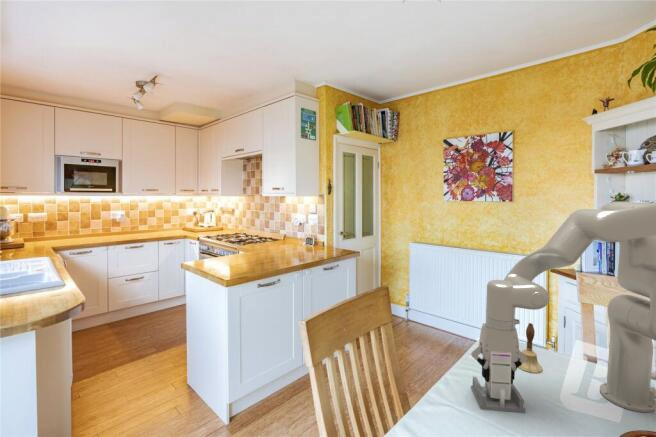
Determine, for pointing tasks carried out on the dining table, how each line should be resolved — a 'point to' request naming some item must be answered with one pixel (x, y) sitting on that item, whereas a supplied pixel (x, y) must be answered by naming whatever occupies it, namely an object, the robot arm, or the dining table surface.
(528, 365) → the hand bell
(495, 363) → the syrup box
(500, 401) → the grey peg stand
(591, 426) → the dining table surface
